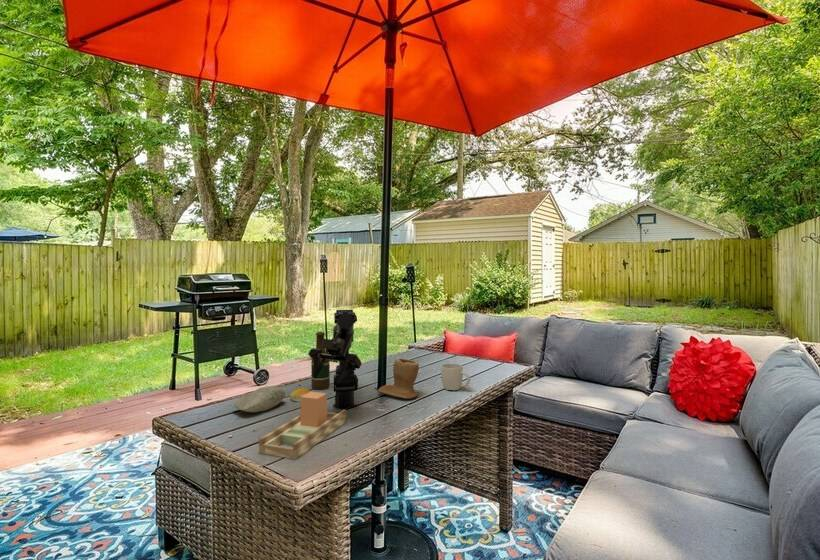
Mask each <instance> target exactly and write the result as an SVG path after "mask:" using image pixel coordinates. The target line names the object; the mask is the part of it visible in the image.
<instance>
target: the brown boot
mask: <svg viewBox="0 0 820 560" xmlns="http://www.w3.org/2000/svg"><path fill="white" fill-rule="evenodd" d="M419 368H420V367H419V363H418V362H417V361H416V360H413V359H406V358H399V357H398V358H396V359H395V360H394V363H393V369H392V371H393V380H394V382H393V384H384V385H382V386H381V387H379V388H378V392H379V393H382V394H385V395H387V396H391V397H394V398H395V397H396V398H402V399H414V398H416V397H418V395H419V392H417V391H416V390H415V389H414V385H415V382H416V379H417V377H418V373H419V370H420V369H419Z"/></svg>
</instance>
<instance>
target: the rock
mask: <svg viewBox="0 0 820 560" xmlns="http://www.w3.org/2000/svg"><path fill="white" fill-rule="evenodd" d="M285 397H286V390H285V389H284V388H283V387H281V386H277V385H269V386H268V385H267V386H263V387H259V388H258V389H256V390H252V392H250V393H248V394H245V395H244V396H241V397H240V398H238V399H237V400H235V402H234V403H233V406H232V407H234V408H236V409H237V410H240V411H242V412H246V413H253V414H255V413H261V412H266V411H268V410H271V409H273V408H274V407H276V406H277V405H279V404H280V403H281V402H282V401H283V400H284V399H285Z"/></svg>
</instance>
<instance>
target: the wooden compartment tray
mask: <svg viewBox="0 0 820 560" xmlns="http://www.w3.org/2000/svg"><path fill="white" fill-rule="evenodd" d="M346 422H347V409H341V410H340V411H339V412H330V411H329V412H328V411H327V421H326V422H324V423H323V424H322V425H320V426H319V427H310V426H303V425H301V414H299V415H297V416H296V417H294V418H292V419H291V420H289V421H287V422H286V423H284V424H282V425H281V426H279V427H277V428H275V429H274V430H272V431H270V432H268V433H267V434H266V435H265V434H264V436H262V437H260V438H259V439H258V453H259V454H263V455H268V456H272V457H273V456H275V457H280V458H281V457H282V458H286V459H293V460H297V459H298V458H300V457H301V456H302V455H303V454H304V453H306V452H307V451H309V450H311V449H312V448H313V447H314V446H316V445H317V444H318V443H320V442H321V441H322V440H324V439H325V438H326V437H327V436H329V435H330V434H331V433H333V432H334V431H335V430H336V429H338V428H340V427H341V426H342V425H344V424H345V423H346ZM281 444H285V445H292V446H291V447H289V446H284V445H283V446H282V445H281Z"/></svg>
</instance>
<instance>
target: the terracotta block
mask: <svg viewBox="0 0 820 560" xmlns="http://www.w3.org/2000/svg"><path fill="white" fill-rule="evenodd" d="M327 412H328V394H327V393H325V392H319V391H318V392H317V391H311V392H309V393H307V394H305V395H303V396H301V402H300V415H301V425H303V426H310V427H319V426H320V425H322V424H323V423H324V422H326V421H327Z"/></svg>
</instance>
